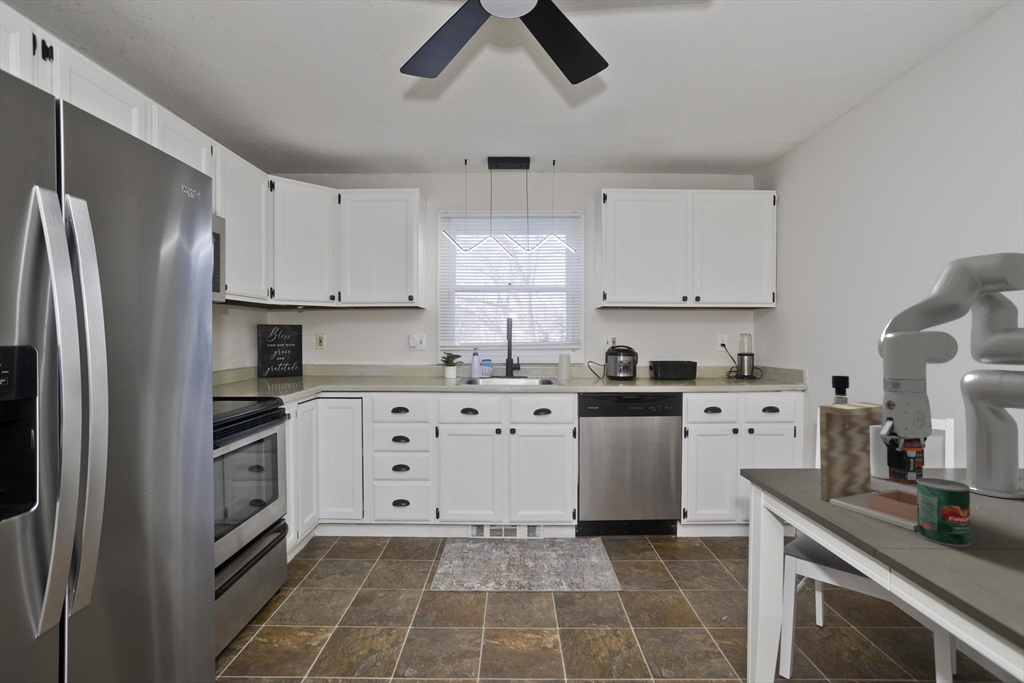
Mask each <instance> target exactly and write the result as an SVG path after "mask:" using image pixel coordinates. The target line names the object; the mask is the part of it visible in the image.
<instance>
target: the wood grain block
mask: <svg viewBox="0 0 1024 683" xmlns="http://www.w3.org/2000/svg"><path fill="white" fill-rule="evenodd" d="M882 405H883V403H882V404H881V403H874V402H865V401H863V402H862V401H861V402H848V403H847V404H835V405H833V404H824V405H823V404H822V405H819V446H820V447H819V451H820V452H819V455H820V458H819V459H820V460H819V461H820V500H822V501H825V502H828V501H829V502H830V499H835V498H841V497H846V496H852V495H858V494H863V493H869V492H872V485H871V484H872V481H871V478H872V475H871V466H870V426H874V425H882Z"/></svg>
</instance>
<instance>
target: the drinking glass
mask: <svg viewBox="0 0 1024 683" xmlns="http://www.w3.org/2000/svg"><path fill="white" fill-rule="evenodd" d="M881 431H882V425H874V426H870V471H871V477H874V478H876V479H882V480H891V479H890V478H889V466H888V465H887V449H886V448H885V444H884V442H883V440H882V439H881V438H880V436H879V434H880V432H881Z"/></svg>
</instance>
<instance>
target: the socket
mask: <svg viewBox="0 0 1024 683" xmlns="http://www.w3.org/2000/svg"><path fill="white" fill-rule="evenodd" d="M829 504H830V505H832V506H833V505H834V506H836V507H839V508H843V509H846V510H849V511H852V512H855V513H857V512H858V513H857V514H860V513H861V515H864V516H867V517H869V518H872V519H873V518H874V519H876V520H880V521H883V522H885V523H889V524H892V525H894V526H898V527H901V528H904V529H907V530H911V531H912V532H914V531H918V517H917V516H918V513H917V512H918V509H917V508H918V506H917V493H913V492H910V491H905V490H901V489H898V488H896V489H894V488H893V489H890V490H885V491H884V490H882V491H878V492H877V491H871V492H869V493H863V494H858V495H852V496H846V497H841V498H835V499H830V501H829Z"/></svg>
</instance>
